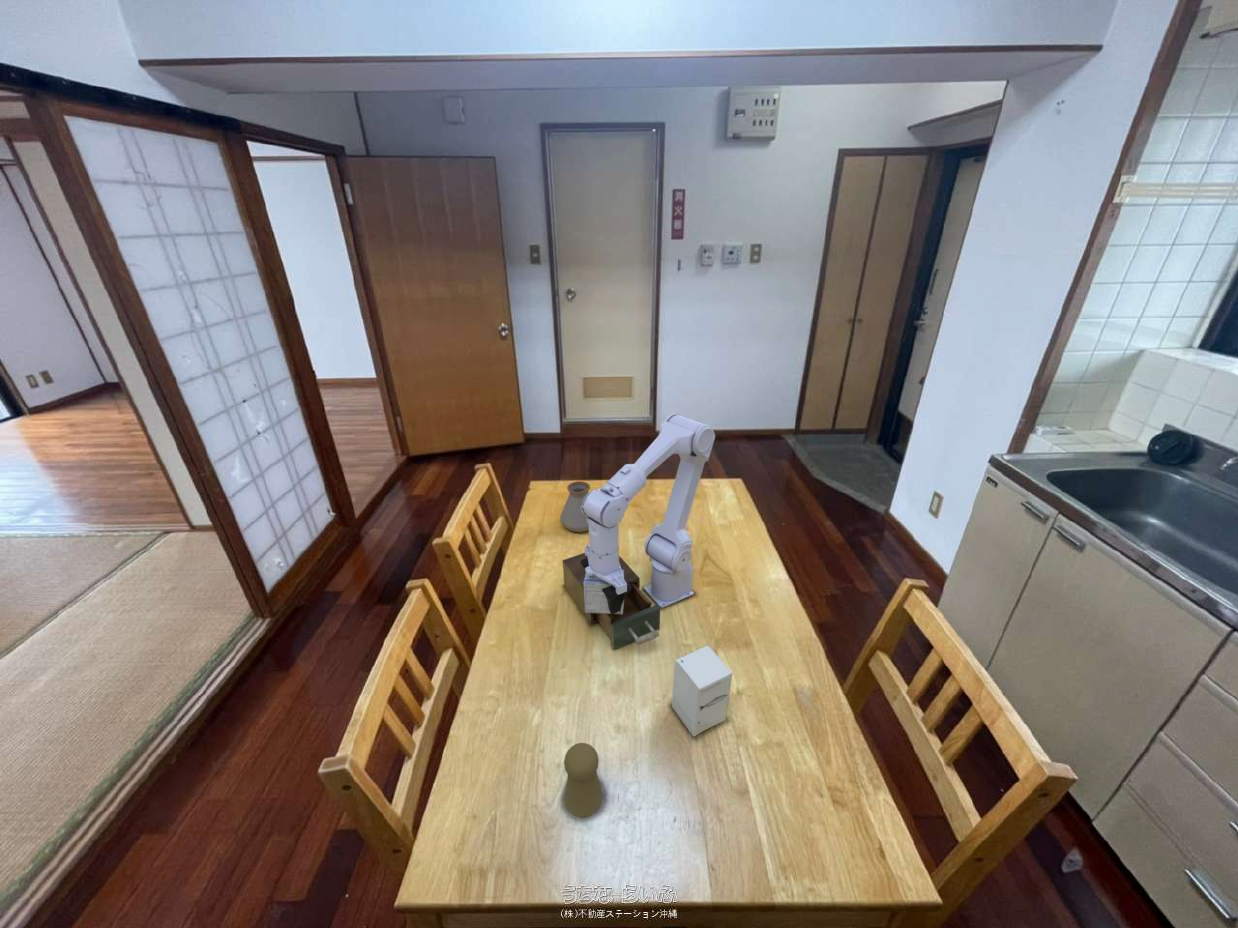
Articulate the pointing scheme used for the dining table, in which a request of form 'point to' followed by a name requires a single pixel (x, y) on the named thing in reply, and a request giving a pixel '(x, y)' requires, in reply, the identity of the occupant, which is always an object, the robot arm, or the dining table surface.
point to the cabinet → (575, 581)
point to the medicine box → (596, 595)
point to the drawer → (632, 620)
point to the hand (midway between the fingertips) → (605, 599)
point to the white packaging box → (701, 689)
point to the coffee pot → (575, 508)
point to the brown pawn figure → (582, 781)
